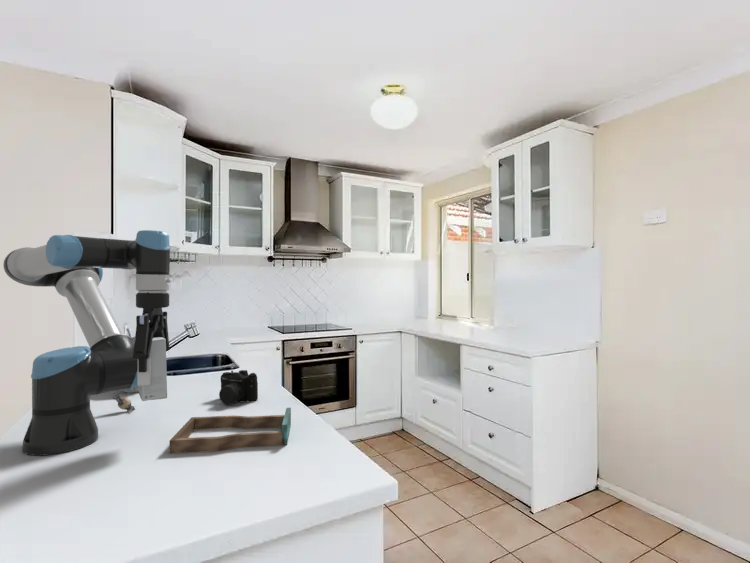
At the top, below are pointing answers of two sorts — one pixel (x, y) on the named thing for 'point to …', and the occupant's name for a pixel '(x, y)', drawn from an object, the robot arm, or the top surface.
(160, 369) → the skincare box
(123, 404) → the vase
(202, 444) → the brown wooden frame
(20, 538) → the top surface
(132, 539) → the top surface
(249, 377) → the camera
